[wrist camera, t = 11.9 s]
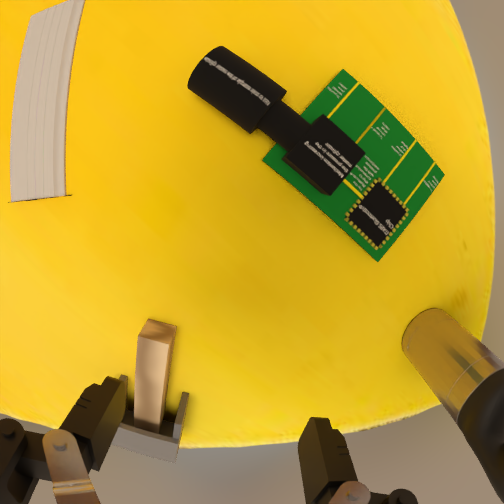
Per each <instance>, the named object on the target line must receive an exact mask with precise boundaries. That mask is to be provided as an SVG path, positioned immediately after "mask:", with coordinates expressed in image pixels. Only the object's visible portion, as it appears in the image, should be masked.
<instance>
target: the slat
mask: <svg viewBox="0 0 504 504" xmlns="http://www.w3.org/2000/svg"><path fill="white" fill-rule="evenodd" d="M176 327H177V326H174V325H170V324H166V323H162V322H159V321H155V320H151V319H148V320H147V322H146V324H145V325H144V327H143V329H142V330H141V332H140V334H139V335H138V342H137V356H136V372H135V396H134V427H136V428H139V429H142V430H146V431H149V432H153V433H156V434H159V430H160V427H161V424H162V420H163V417H164V412H165V404H166V396H167V388H168V381H169V373H170V366H171V359H172V353H173V346H174V340H175V333H176Z"/></svg>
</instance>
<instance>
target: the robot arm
mask: <svg viewBox="0 0 504 504" xmlns="http://www.w3.org/2000/svg"><path fill="white" fill-rule="evenodd" d="M402 349H403V352H404V354H405V355H406V356H407V358H408V359H409V360H410V362H411V363H412V364H413V365H414V367H415V368H416V370H417V371H418V372H419V374H420V375H421V376H422V377H423V379H424V380H425V381H426V383H427V384H428V385H429V387H430V388H431V389H432V391H433V392H434V394H435V395H436V396H437V398H438V399H439V400H440V402H441V403H442V404H443V406H444V407H445V409H446V410H447V411H448V413H449V414H450V415H451V417H452V418H453V420H454V421H455V422H456V424H457V425H458V427H459V428H460V430H461V431H462V432H463V434H464V436H465V438H466V440H467V442H468V444H469V445H470V447H471V448H472V450H473V451H474V453H475V455H476V456H477V458H478V460H479V461H480V463H481V465H482V467H483V469H484V471H485V473H486V475H487V477H488V479H489V480H490V483H491V484H492V486H493V488H494V490H495V491H496V493H497V495H498V496H499V498H500V499H501V501H502V502H503V503H504V362H503V361H501V360H500V359H499V358H498V357H497V356H496V355H494V354H493V353H492V352H491V351H490V350H489V349H488V348H486V346H485V345H483V344H482V343H481V342H480V341H479V340H478V339H477V338H475V337H474V336H473V335H472V334H471V333H470V332H468V331H467V330H466V329H465V328H464V327H462V326H461V325H460V324H459V323H458V322H457V321H455V320H454V319H453V318H452V317H451V316H449V315H448V314H447V313H446V312H444V311H443V310H441V309H437V308H434V309H429V310H426V311H424V312H422V313H421V314H419V315H418V316H417V317H416V318H415V319H414V320H413V321H412V322H411V323H410V324H409V326H408V327H407V329H406V331H405V333H404V336H403V340H402ZM125 406H126V404H125V383H124V381H122V380H119V379H115V378H112V377H109V376H107V377H106V378H105V380H104V381H103V383H102V385H101V386H100V385H98V384H95V383H94V384H92V385H91V386H89V387H87V388H86V389H85V390H84V391H83V393H82V394H81V396H80V398H79V399H78V400H77V402H76V404H75V405H74V406H73V408H72V409H71V411H70V412H69V414H68V415H67V417H66V419H65V420H64V422H63V423H62V425H61V426H60V428H59V429H54V430H51V431H49V432H47V433H46V434H39V433H34V432H29V431H25V430H24V429H23V427H22V425H21V424H20V423H19V422H17V421H16V420H13V419H9V418H8V419H7V418H6V419H2V420H0V504H28V503H29V501H30V499H31V496H32V494H33V492H34V490H35V487H36V485H37V483H38V481H39V479H42V480H48V481H52V482H53V492H54V495H55V499H56V502H57V504H101V503H100V501H99V499H98V496H97V494H96V492H95V489H94V487H93V485H92V483H91V480H90V478H89V475H88V474H89V472H90V470H91V469H94V470H96V471H99V470H100V467H101V465H102V463H103V461H104V458H105V456H106V454H107V452H108V449H109V447H110V445H111V443H112V441H113V438H114V436H115V434H116V432H117V430H118V427H119V425H120V423H121V421H122V419H123V416H124V413H125ZM298 454H299V461H300V467H301V474H302V480H303V486H304V493H305V500H306V504H418V502H417V499H416V497H415V495H414V494H413V493H412V492H410V491H408V490H406V489H397V490H394V491H393V492H392V493H391V494H390V495H386V494H379V493H373V492H370V491H369V489H368V488H367V487H366V486H365V485H364V484H362V483H360V482H358V479H357V476H356V473H355V470H354V466H353V463H352V460H351V457H350V455H349V450H348V448H347V444H346V441H345V438H344V436H343V435H342V434H341V433H340V432H339V430H338V429H332V427H331V424H330V420H329V419H328V418H319V417H311V418H310V419H309V421H308V423H307V425H306V427H305V429H304V431H303V433H302V435H301V437H300V439H299V443H298Z"/></svg>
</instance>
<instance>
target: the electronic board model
mask: <svg viewBox="0 0 504 504" xmlns="http://www.w3.org/2000/svg"><path fill="white" fill-rule="evenodd" d="M188 89H189V90H191V91H192V92H194V93H195V94H197V95H198V96H200V97H201V98H202V99H204V100H205V101H207V102H208V103H209V104H211V105H212V106H214V107H215V108H216V109H218V110H219V111H220V112H222V113H223V114H225V115H226V116H227V117H229V118H230V119H231V120H233V121H234V122H235V123H237V124H238V125H239V126H241V127H242V128H243V129H244V130H246V131H247V132H248V133H250V134H251V133H252V132H253V131H254V130H255V129H256V128H257V127H258V128H259V129H260V130H262V131H263V132H264V133H265V134H267V135H268V136H269V137H270V138H272V139H273V140H274V141H275V142H277V143H276V144H275V145H274V147H273V148H272V149H271V150H270V151H269V153H268V154H267V155H266V156H265V157H264V158H263V160H262V161H264V162H265V163H266V164H267V165H269V166H270V167H271V168H272V169H274V170H275V171H276V172H277V173H278V174H280V175H281V176H282V177H283V178H284V179H286V180H287V181H288V182H289V183H290V184H292V185H293V186H294V187H295V188H296V189H298V190H299V191H300V192H301V193H302V194H303V195H305V196H306V197H307V198H308V199H309V200H310V201H311V202H313V203H314V204H315V205H316V206H317V207H318V208H319V209H321V210H322V211H323V212H324V213H325V214H326V215H327V216H328V217H330V218H331V219H332V220H333V221H334V222H335V223H336V224H337V225H338V226H340V227H341V228H342V229H343V230H344V231H345V232H346V233H347V234H348V235H349V236H350V237H352V238H353V239H354V240H355V241H356V242H357V243H358V244H359V245H360V246H361V247H362V248H363V249H364V250H365V251H366V252H367V253H368V254H370V255H371V256H372V257H373V258H374V259H375V260H376V261H377V262H378V261H379V260H380V259H381V258H382V257H383V256H384V254H385V253H386V252H387V251H388V249H389V248H390V247H391V246H392V245H393V243H394V242H395V241H396V240H397V238H398V237H399V236H400V235H401V233H402V232H403V231H404V229H405V228H406V227H407V226H408V224H409V223H410V222H411V220H412V219H413V218H414V217H415V215H416V214H417V213H418V211H419V210H420V209H421V207H422V206H423V205H424V203H425V202H426V200H427V199H428V198H429V196H430V195H431V194H432V192H433V191H434V189H435V188H436V187H437V185H438V184H439V182H440V181H441V180H442V178H443V177H444V175H445V174H444V173H443V172H442V171H441V169H440V168H439V167H438V166H437V164H436V162H435V161H433V159H432V158H431V157H430V156H429V155H428V153H427V152H426V151H425V150H424V149H423V147H422V146H421V145H420V144H419V143H418V142H417V140H416V139H415V138H414V137H413V136H412V135H411V134H410V133H409V132H408V131H407V129H406V128H405V127H404V126H403V125H402V124H401V123H400V122H399V121H398V120H397V119H396V118H395V117H394V116H393V115H392V114H391V113H390V112H389V111H388V110H387V109H386V107H384V106H383V105H382V104H381V103H380V102H379V101H378V100H377V99H376V98H375V97H374V96H373V95H372V94H371V93H370V92H369V91H368V90H367V89H365V88H364V87H363V86H362V85H361V84H360V83H359V82H358V81H357V80H355V79H354V78H353V77H352V76H351V75H350V74H349V73H347V72H346V71H345V70H344V69H342V70H341V71H340V72H339V73H338V75H337V76H336V77H335V78H334V79H333V80H332V81H331V82H330V83H329V84H328V85H327V86H326V88H325V89H324V90H323V91H322V92H321V93H320V94H319V95H318V96H317V97H316V99H315V100H314V101H313V102H312V103H311V104H310V105H309V106H308V108H307V109H306V110H305V111H304V112H303V113H302V114H301V115H299V114H297V113H296V112H295V111H294V110H292V109H291V108H290V107H289V106H287V105H286V104H285V103H284V102H282V101H281V99H282V98H283V97H284V95H285V94H286V92H287V91H286V90H285V89H284V88H282V87H281V86H280V85H278V84H277V83H276V82H274V81H273V80H272V79H270V78H269V77H267V76H266V75H265V74H263V73H262V72H261V71H259V70H258V69H256V68H255V67H253V66H252V65H251V64H249V63H248V62H246V61H245V60H243V59H242V58H240V57H239V56H237V55H236V54H234V53H233V52H231V51H230V50H228V49H227V48H225V47H223V46H219V47H217V48H215V49H213V50H212V51H210V52H209V53H208V54H207V55H206V56H205V57H204V58H203V59H202V60H201V61H200V62H199V63H198V65H197V66H196V67H195V69H194V70H193V72H192V74H191V76H190V78H189V81H188Z"/></svg>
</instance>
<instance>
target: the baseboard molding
mask: <svg viewBox="0 0 504 504" xmlns="http://www.w3.org/2000/svg"><path fill="white" fill-rule="evenodd" d="M84 4H85V0H68V1H66V2H63V3H61V4H58V5H55V6H53V7H51V8H48V9H45V10H43V11H41V12H39V13H37V14H34V15H32V16H31V18H30V22H29V26H28V29H27V33H26V37H25V41H24V45H23V50H22V54H21V59H20V64H19V70H18V75H17V82H16V88H15V96H14V104H13V114H12V127H11V146H10V183H11V202H13V201H15V202H18V201H21V200H23V201H30V200H29V199H32V200H37V199H38V198H41V199H44V198H47V197H50V198H53V197H56V196H65V195H66V173H65V147H66V121H67V106H68V95H69V85H70V77H71V70H72V63H73V56H74V50H75V45H76V39H77V34H78V29H79V25H80V20H81V16H82V12H83V8H84ZM66 196H71V195H66ZM8 203H10V202H8Z"/></svg>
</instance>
